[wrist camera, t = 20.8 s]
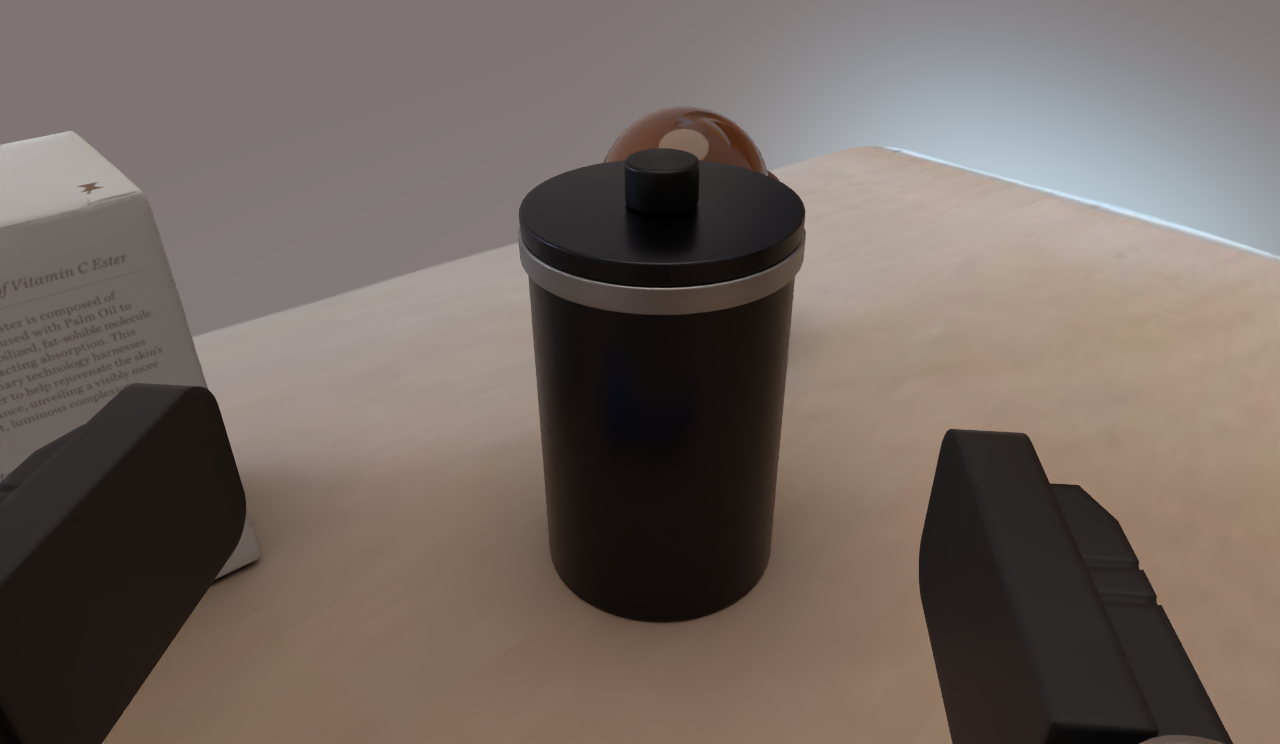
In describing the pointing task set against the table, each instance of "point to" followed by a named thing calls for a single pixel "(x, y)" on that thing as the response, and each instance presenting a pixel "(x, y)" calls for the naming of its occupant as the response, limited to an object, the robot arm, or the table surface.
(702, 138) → the mushroom
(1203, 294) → the table surface
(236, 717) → the table surface
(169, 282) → the small box
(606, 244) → the pot
